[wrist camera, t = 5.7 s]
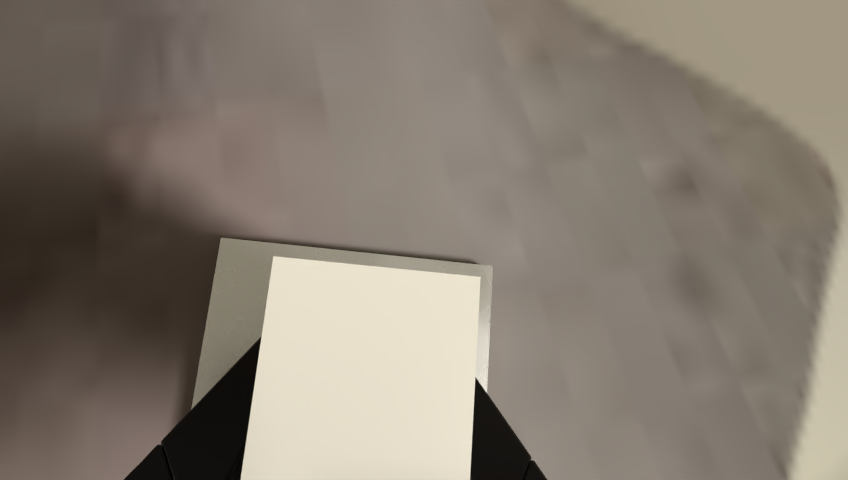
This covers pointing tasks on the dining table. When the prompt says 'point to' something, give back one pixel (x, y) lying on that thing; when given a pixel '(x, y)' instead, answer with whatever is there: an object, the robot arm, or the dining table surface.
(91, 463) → the dining table surface
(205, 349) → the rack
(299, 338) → the cream rectangular block
